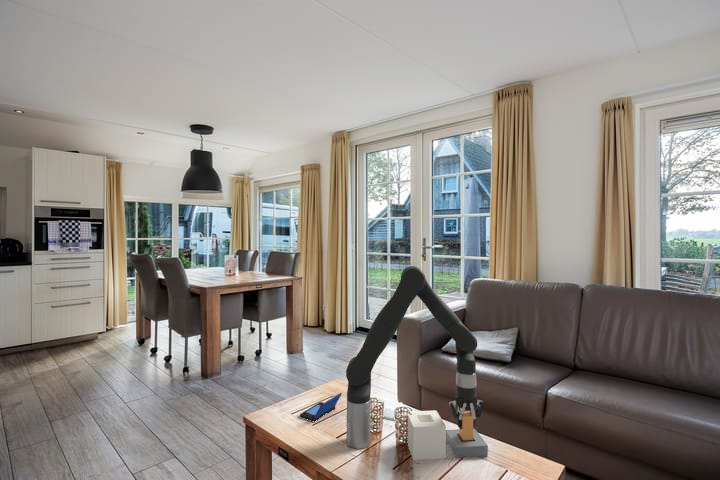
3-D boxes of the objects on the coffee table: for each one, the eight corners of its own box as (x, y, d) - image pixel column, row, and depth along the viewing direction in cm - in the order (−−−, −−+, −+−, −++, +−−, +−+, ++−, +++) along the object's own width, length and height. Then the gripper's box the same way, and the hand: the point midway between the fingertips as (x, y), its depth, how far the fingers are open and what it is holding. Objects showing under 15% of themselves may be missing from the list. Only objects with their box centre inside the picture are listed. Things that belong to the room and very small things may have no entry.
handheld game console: (320, 404, 177) (320, 385, 177) (342, 411, 169) (342, 391, 169) (298, 417, 164) (298, 397, 164) (321, 426, 156) (321, 404, 156)
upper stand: (413, 460, 132) (413, 427, 132) (406, 441, 144) (406, 411, 144) (445, 458, 133) (445, 425, 133) (435, 440, 145) (436, 410, 145)
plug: (463, 440, 138) (463, 416, 138) (459, 434, 142) (459, 411, 142) (473, 439, 138) (473, 416, 138) (469, 434, 142) (469, 411, 142)
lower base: (456, 457, 133) (456, 447, 133) (445, 439, 145) (445, 429, 145) (487, 456, 134) (487, 445, 134) (474, 438, 146) (474, 428, 146)
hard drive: (369, 412, 166) (395, 418, 160) (377, 405, 173) (401, 410, 168) (369, 416, 166) (395, 422, 160) (377, 408, 173) (401, 414, 168)
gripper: (451, 388, 135) (451, 434, 136) (488, 386, 137) (488, 432, 137) (445, 380, 143) (445, 423, 143) (480, 379, 144) (480, 422, 144)
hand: (466, 427), depth 140 cm, fingers closed on plug, 4 cm apart
